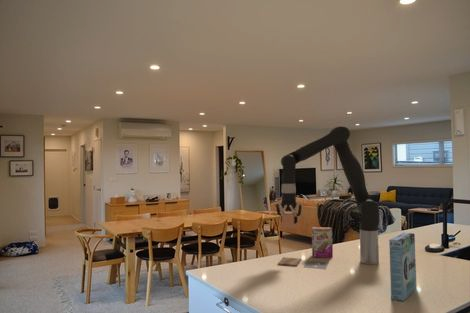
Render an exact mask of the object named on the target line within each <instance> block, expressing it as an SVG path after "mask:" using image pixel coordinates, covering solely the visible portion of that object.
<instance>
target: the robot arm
mask: <svg viewBox="0 0 470 313" xmlns="http://www.w3.org/2000/svg"><path fill="white" fill-rule="evenodd" d="M350 135H351V131H350V130H349V128H348V127H346V126H344V125H339V126H335V127H333V128H332V129H331V130H330V131H329V132H328V134H326V135H324V136H322V137H320V138H318V139H316V140H314V141H311V142H309V143H307V144H305V145H303V146H301V147H300V148H298V149H296V150H295V151H292V152H289V153H287V154H285V155H283V156H282V157H281V159H280V163H281V166H282V174H281V191H280V192H281V203H276V204H275V206H276V214H277V216H280V222H281V223H282V214H283V213H285V212H293V214H294V216H295V217H294V224H296V225H297V223H298V221H299V220H298V217H299V216H300V217H301V215H302V208H303V204H301V203H297V193H296V192H297V188H296V164H297V165H298V163H300V162H303V161H306V160H308V159H310V158H311V157H314V156H315V155H317V154H320V152H322V151H324V150H326V149H328V148H330V147H332V146H333V147H334V149H335V150H336V151H335V152H337V155H338V159H339V162H340V164H341V167H342V169H343V173H344V176H345V178H346V180H347V182H348V184H349V187H350V189H351V191H352V193H353V195H354V200H355V203H356V207H357V211H358V212H359V213H360V224H359V254H360V255H359V262H360V263H362V264H367V265H380V257H379V255H380V254H379V253H380V252H379V251H380V250H379V225H380V206H379V204H378V203H377V202H376V201H374V200H373V199H372V198H371V197H370V194H369V192H368V189H367V186H366V185H367V184H366V177H365V174H364V173H365V172H364V171H363V169H362V168H363V167H362V165H361V163H360V162H359V160H358V158H357V157H356V156H355V154H354V153H353V151H352V150H351V147H350V145H349V143H348V140H349V139H350ZM281 207H282V210H281ZM296 208H297V210H298V211H296Z"/></svg>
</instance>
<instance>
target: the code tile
mask: <svg viewBox="0 0 470 313" xmlns="http://www.w3.org/2000/svg"><path fill="white" fill-rule="evenodd" d="M328 265H329V262H328V261H321V260H319V261H318V260H307V261H306V262H305V265H303V268H304V269H305V268H306V269H317V270H326V269H327V268H328Z"/></svg>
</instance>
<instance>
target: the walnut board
mask: <svg viewBox="0 0 470 313" xmlns="http://www.w3.org/2000/svg"><path fill="white" fill-rule="evenodd" d="M301 262H302V258H297V257H295V258H294V257H285V256H283V257H282V258H281V259H280V260H279V261H278V262H277V266H282V267H283V266H284V267H285V266H286V267H295V268H297V267H298V265H299V264H300V263H301Z"/></svg>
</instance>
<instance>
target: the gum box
mask: <svg viewBox="0 0 470 313" xmlns="http://www.w3.org/2000/svg"><path fill="white" fill-rule="evenodd" d="M415 236H416V235H415V233H413V232H412V233H410V232H402V233H400V234H398V235H396V236H394V237H392V238H390V239H389V240H388V241H389V270H390V271H389V272H390V273H389V274H390V275H389V276H390V299H391V300H394V301H395V300H396V301H401V302H404V301H405V300H406V299H407V298H408V297H409V296H410V295H411V294H412V293H413V292H415V290H416V289H417V286H418V285H417V265H416V264H417V263H416V261H417V260H416V240H415V239H416V238H415Z"/></svg>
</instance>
